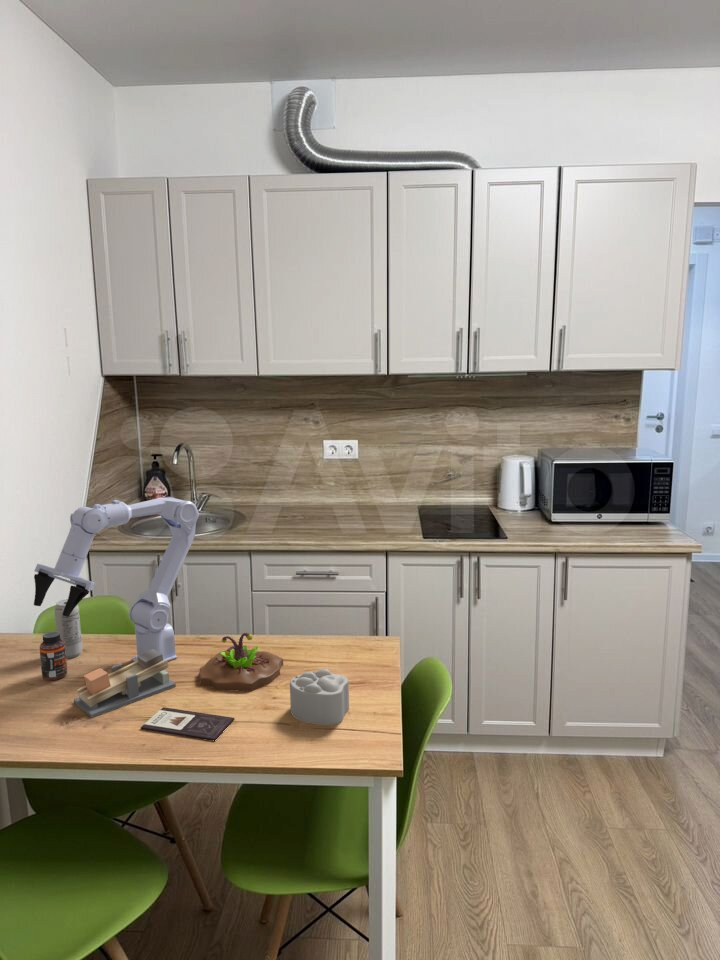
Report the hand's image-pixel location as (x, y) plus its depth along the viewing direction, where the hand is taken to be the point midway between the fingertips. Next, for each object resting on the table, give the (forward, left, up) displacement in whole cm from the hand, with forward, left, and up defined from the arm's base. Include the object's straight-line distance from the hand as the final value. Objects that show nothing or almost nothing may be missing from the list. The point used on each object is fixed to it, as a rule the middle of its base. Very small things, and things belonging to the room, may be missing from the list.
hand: (51, 610), depth 166 cm
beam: (-12, +11, -19) cm, 25 cm away
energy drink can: (-11, -21, -22) cm, 32 cm away
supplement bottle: (-3, -11, -22) cm, 24 cm away
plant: (-38, +21, -22) cm, 49 cm away
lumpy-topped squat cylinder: (-39, +50, -22) cm, 67 cm away
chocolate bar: (-15, +34, -22) cm, 43 cm away
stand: (-11, +11, -21) cm, 27 cm away
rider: (-5, +11, -18) cm, 22 cm away
